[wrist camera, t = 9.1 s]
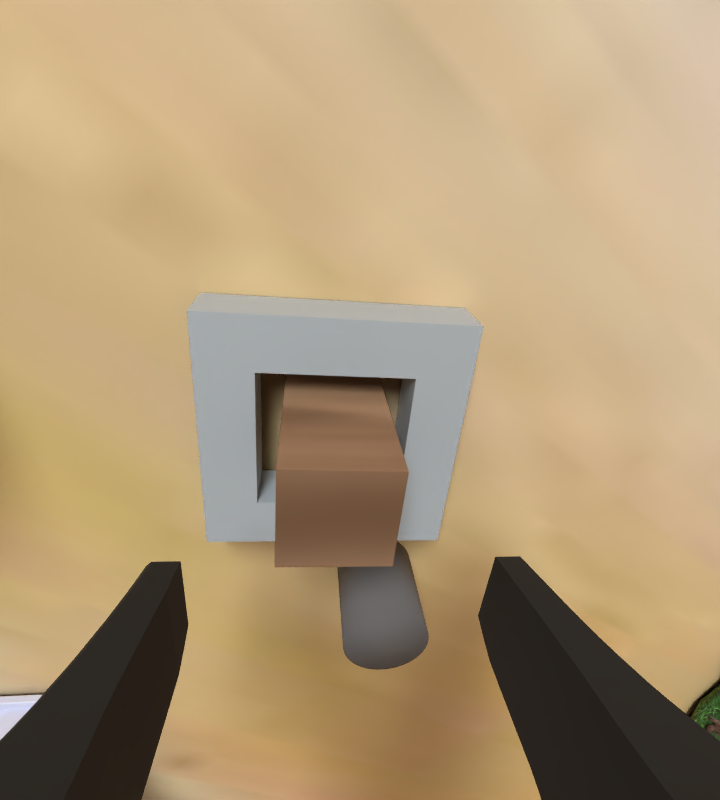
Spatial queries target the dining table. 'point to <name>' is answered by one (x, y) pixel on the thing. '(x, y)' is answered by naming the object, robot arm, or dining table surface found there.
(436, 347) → the bore block
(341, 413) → the block
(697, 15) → the dining table surface
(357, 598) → the rubber stub
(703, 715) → the bonsai tree
